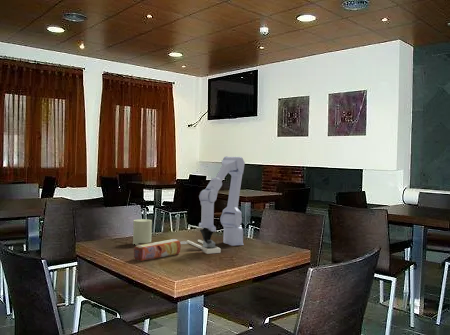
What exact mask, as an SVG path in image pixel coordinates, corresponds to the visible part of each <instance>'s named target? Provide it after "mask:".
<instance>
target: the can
mask: <svg viewBox="0 0 450 335" xmlns="http://www.w3.org/2000/svg"><path fill="white" fill-rule="evenodd" d="M152 223H153V219H145V218H138V219H133V223H132V224H133V229H132V231H133V232H132V245H134V244H135V246H137V245H141V244H149V243H152V225H153V224H152Z"/></svg>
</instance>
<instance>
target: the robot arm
mask: <svg viewBox="0 0 450 335" xmlns="http://www.w3.org/2000/svg"><path fill="white" fill-rule="evenodd" d="M245 163H246V162H245V160H244V159H243V157H242V156H224V157H223V158H222V160H221V167H220V168H219V170H218V173H217V174H216V176H215V177H212V178H210V181H209V182H208V184H207V186H206V188H205V189H202V190H201V191H200V192H199V195H198V198H199V201H200V206H201V211H200V212H201V216H200V217H201V220H200V222H199V223H198V228H202V229H200V230H199V231H200V232H201V236H202V238H203V239H202V241H203V240H208V239H211V238H212V236H213V234H214V232H216V231H217V227H216V226H215V225H214V221H215V220H214V218H215V217H214V216H215V215H214V214H215V213H214V212H215V202H216V201H217V197H218V194H219V191H220V190H221V188H222V187H223V182H222V181H223V180H224V179H225V178H226V176H227V175H228V174H229V175H230V176H231V177H230V185H229V190H228V199H227V205H226V207H225V208H224V209H222V212H221V215H220V218H219V220H220V224H221V225H222V227H223V238H222V240H223V244H227V245H229V246H244V229H243V227H242V226H241V225H242V222H243V218H242V214H243V213H242V211H241V210H240V209H239V200H240V193H241V185H242V179H243V175H244V170H245V165H246V164H245Z"/></svg>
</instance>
